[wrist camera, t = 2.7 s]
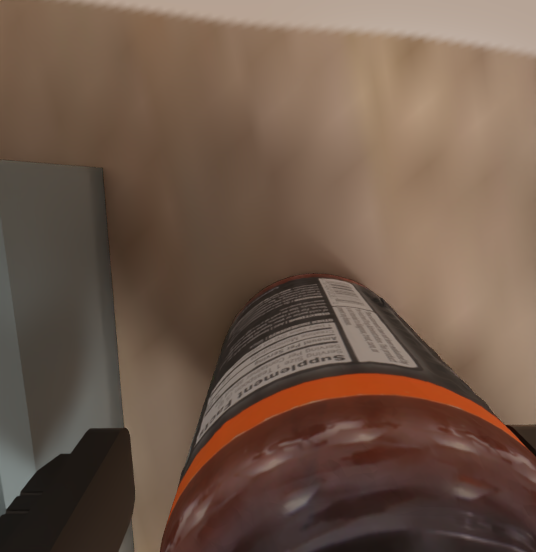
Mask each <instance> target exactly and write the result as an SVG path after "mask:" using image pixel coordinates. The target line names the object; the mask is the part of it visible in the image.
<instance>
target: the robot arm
mask: <svg viewBox="0 0 536 552" xmlns="http://www.w3.org/2000/svg"><path fill="white" fill-rule="evenodd" d="M505 426H506V427H507V428H508V429H509V430H511V431H512V432H513V433H514V434H515V435H516V436H517V437H518V439H519V440H520V441H521V442H522V443H523V444H524V445H525V447H526V448H527V449H528V450H529V451H530V452H531V453H532V454H533V455H534V456H535V457H536V425H505ZM134 501H135V485H134V475H133V464H132V454H131V443H130V435H129V432H128V430H127V429H126V428H90V429H89V430H87V432H86V433H85V434H84V436H83V437H82V438H81V440H80V441H79V442H78V444H77V445H76V447H75V448H74V449H73V451H72V452H71V453H70V454H59V455H58V456H57V457H55V458H54V459H53V460H51V461H50V462H48V463H47V464H46V465H44V466H43V467H42V468H40V469H39V470H37V471H36V473H35V474H34V475H33V476H32V478H31V479H30V480H29V481H28V483H27V484H26V485H25V486H24V488H23V489H22V490H21V492H20V496H17V497H16V498H15V499H14V500H13V502H12V503H11V504H10V505H9V507H8V508H7V509H6V513H5V514H2V515H1V517H0V552H119V549H120V547H121V544H122V542H123V539H124V537H125V534H126V532H127V529H128V527H129V524H130V521H131V518H132V514H133V509H134Z"/></svg>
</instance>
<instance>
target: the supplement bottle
mask: <svg viewBox="0 0 536 552" xmlns="http://www.w3.org/2000/svg"><path fill="white" fill-rule="evenodd" d="M160 552H536V457H535V456H534V455H533V454H532V453H531V452H530V451H529V450H528V449H527V448H526V447H525V445H524V444H523V443H522V442H521V441H520V440H519V439H518V437H517V436H516V435H515V434H514V433H513V432H512V431H511V430H509V429H508V428H507V427H506V426H505V425H504V424H503V423H502V422H501V421H500V420H499V419H498V418H497V417H496V415H495V414H494V413H493V412H492V411H491V410H490V408H489V407H488V405H487V404H486V403H485V402H484V401H483V400H482V399H481V398H480V397H478V396H477V395H476V394H475V393H474V392H473V391H472V390H471V388H470V387H469V386H468V385H467V384H466V383H465V382H464V381H463V380H461V379H460V378H459V377H458V375H457V374H456V373H455V372H454V371H453V370H452V369H451V368H450V367H449V366H448V365H446V364H445V362H443V361H442V359H441V358H440V357H439V356H438V355H437V353H436V352H434V351H433V350H432V349H431V348H430V347H429V346H428V345H427V344H426V343H425V342H424V341H423V340H422V339H421V338H420V337H419V336H418V335H417V334H416V333H415V332H414V330H413V329H412V328H411V327H410V326H409V325H408V324H407V323H406V322H405V321H404V320H403V319H402V318H401V317H400V316H399V315H398V314H397V313H396V312H395V311H394V310H393V309H392V308H391V307H390V306H389V305H388V304H387V303H386V302H385V301H384V300H383V299H382V298H380V297H379V296H377V295H376V294H375V293H373V292H372V291H371V290H369V289H368V288H366V287H365V286H363V285H361V284H359V283H357V282H355V281H352V280H350V279H346V278H343V277H339V276H334V275H329V274H315V273H313V274H303V275H297V276H292V277H289V278H286V279H283V280H280V281H278V282H275V283H274V284H272V285H270V286H268V287H266V288H264V289H263V290H261V291H260V292H259V293H258V294H256V295H255V296H254V297H253V298H252V299H250V301H249V302H248V303H246V304H245V306H244V307H243V308H242V310H241V311H240V312H239V313H238V314H237V315H236V317H235V319H234V321H233V323H232V325H231V327H230V329H229V331H228V334H227V336H226V338H225V341H224V343H223V346H222V349H221V353H220V356H219V359H218V362H217V365H216V368H215V371H214V374H213V378H212V381H211V384H210V387H209V390H208V393H207V397H206V400H205V403H204V406H203V409H202V412H201V415H200V419H199V422H198V425H197V428H196V431H195V434H194V437H193V440H192V443H191V447H190V450H189V453H188V456H187V460H186V463H185V466H184V468H183V471H182V473H181V478H180V482H179V485H178V489H177V493H176V496H175V499H174V502H173V505H172V508H171V511H170V515H169V518H168V521H167V525H166V528H165V531H164V535H163V538H162V543H161V549H160Z"/></svg>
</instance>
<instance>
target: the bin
mask: <svg viewBox="0 0 536 552" xmlns="http://www.w3.org/2000/svg"><path fill="white" fill-rule="evenodd" d="M90 428H124V423H123V410H122V398H121V386H120V374H119V362H118V350H117V338H116V326H115V314H114V302H113V290H112V278H111V266H110V254H109V242H108V229H107V217H106V205H105V193H104V181H103V169H102V168H96V167H84V166H72V165H59V164H47V163H35V162H23V161H11V160H0V517H1V515H2V514H5V513H6V509H7V508H8V507H9V505H10V504H11V503H12V502H13V500H14V499H15V498H16V497H17V496H20V492H21V490H22V489H23V488H24V486H25V485H26V484H27V483H28V481H29V480H30V479H31V478H32V476H33V475H34V474H35V473H36V471H37V470H39V469H40V468H42V467H43V466H44V465H46V464H47V463H48V462H50V461H51V460H53V459H54V458H55V457H57V456H58V455H59V454H70V453H71V452H72V451H73V449H74V448H75V447H76V445H77V444H78V442H79V441H80V440H81V438H82V437H83V436H84V434H85V433H86V432H87V430H89V429H90ZM119 552H134V543H133V531H132V519H131V521H130V524H129V527H128V529H127V532H126V534H125V537H124V539H123V542H122V544H121V547H120V549H119Z"/></svg>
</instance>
